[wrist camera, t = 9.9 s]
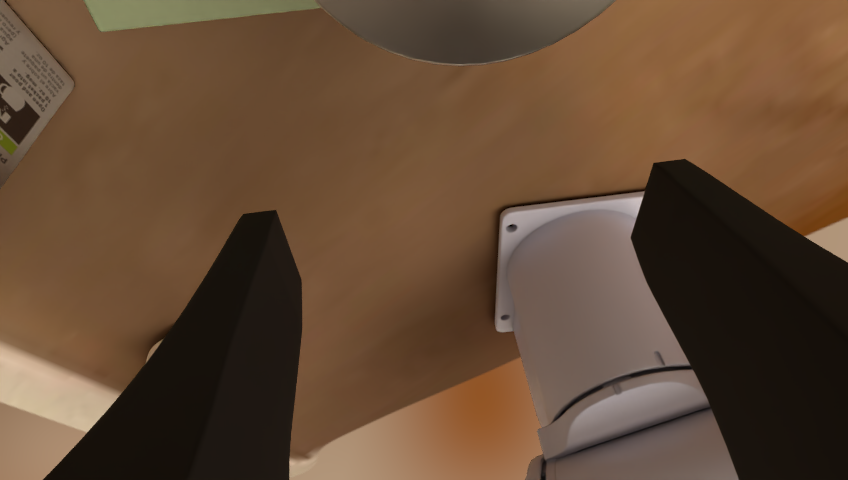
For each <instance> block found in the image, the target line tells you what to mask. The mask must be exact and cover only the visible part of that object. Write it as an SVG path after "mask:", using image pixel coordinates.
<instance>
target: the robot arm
mask: <svg viewBox="0 0 848 480" xmlns="http://www.w3.org/2000/svg"><path fill="white" fill-rule="evenodd" d="M511 224H514V225H513V226H510V227H508V226H509V225H511ZM495 327H496V330H497V331H498V332H510V331H514V333H515V337H516V341H517V344H518V348H519V352H520V356H521V359H522V363H523V367H524V370H525V374H526V377H527V381H528V385H529V389H530V392H531V396H532V399H533V403H534V407H535V411H536V414H537V417H538V420H539V422H540V425H541V427H542V428H540V429H538V431H537V432H538V436H539V440H540V444H541V447H542V451H543V454H542V455H540V456H537V457H535V458H534V459H532V460H531V462H530V464H529V467H528V470H527V476H526V479H525V480H848V263H847V262H846V261H844V260H842V259H841V258H839V257H837V256H836V255H833V254H832V253H831V252H829V251H827V250H825V249H823V248H822V247H820V246H819V245H817V244H815V243H814V242H812V241H810V240H809V239H807V238H806V237H804V236H802V235H801V234H799V233H798V232H796V231H794V230H793V229H791V228H790V227H788V226H787V225H785V224H783V223H782V222H780V221H779V220H777V219H776V218H774V217H773V216H771V215H770V214H768V213H767V212H765V211H764V210H762V209H761V208H759V207H758V206H756V205H755V204H753V203H752V202H750V201H749V200H747V199H746V198H744V197H743V196H741V195H740V194H738V193H737V192H735V191H734V190H732V189H731V188H729V187H728V186H726V185H725V184H723V183H722V182H720V181H719V180H717V179H716V178H714V177H713V176H711V175H710V174H708V173H707V172H705V171H704V170H702V169H700V168H699V167H697V166H696V165H694V164H692V163H691V162H689V161H687V160H686V159H682V160H674V161H666V162H658V163H654V164H653V167H652V170H651V173H650V177H649V180H648V183H647V186H646V189H645V191H643V192H635V193H627V194H618V195H610V196H602V197H594V198H586V199H577V200H569V201H561V202H553V203H544V204H536V205H528V206H520V207H511V208H508V209H506V210H504V211H503V212H502V213H501V215H500V227H499V247H498V267H497V287H496V306H495ZM301 335H302V282H301V277H300V275H299V272H298V269H297V266H296V264H295V261H294V258H293V255H292V253H291V250H290V247H289V244H288V242H287V239H286V236H285V233H284V231H283V228H282V225H281V222H280V220H279V217H278V214H277V211H276V210H271V211H263V212H255V213H247V214H243V215H242V216H241V218H240V219H239V220H238V222H237V224H236V226H235V227H234V229H233V231H232V232H231V234H230V236H229V238H228V239H227V241H226V243H225V245H224V246H223V248H222V250H221V251H220V253H219V255H218V256H217V258H216V260H215V261H214V263H213V265H212V266H211V268H210V270H209V271H208V273H207V275H206V276H205V278H204V279H203V281H202V283H201V284H200V286H199V287H198V289H197V290H196V292H195V293H194V295H193V297H192V298H191V300H190V301H189V303H188V304H187V306H186V308H185V309H184V311H183V312H182V313H181V315H180V316H179V318H178V319H177V321H176V322H175V323H174V325H173V326H172V328H171V329H170V331H169V332H168V333H167V335H166V336H165V338H164V339H163V340H162V342H161V343H160V345H159V346H158V347H157V349H156V350H155V352H154V353H153V354H152V356H151V357H150V358H149V360H148V361H147V362H146V363H145V365H144V366H143V367H142V369H141V370H140V371H139V373H138V374H137V375H136V376H135V378H134V379H133V380H132V381H131V383H130V384H129V385H128V386H127V387H126V389H125V390H124V391H123V392H122V393H121V395H120V396H119V397H118V398H117V400H116V401H115V402H114V403H113V404H112V406H111V407H110V408H109V409H108V410H107V411H106V412H105V414H104V415H103V416H102V417H101V418H100V419H99V420H98V421H97V422H96V424H95V425H94V426H93V427H92V428H91V429H90V430H89V431H88V432H87V434H86V435H85V436H84V437H83V438H82V439H81V440H80V441H79V443H78V444H77V445H76V446H75V447H74V448H73V449H72V450H71V451H70V452H69V453H68V454H67V455H66V456H65V457H64V458H63V460H62V461H61V462H60V463H59V464H58V465H57V466H56V467H55V468H54V469H53V470H52V471H51V472H50V473H49V474H48V475H47V476H46V477H45V478H44V479H43V480H289V456H290V441H291V429H292V420H293V411H294V401H295V392H296V383H297V374H298V365H299V355H300V345H301Z"/></svg>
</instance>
